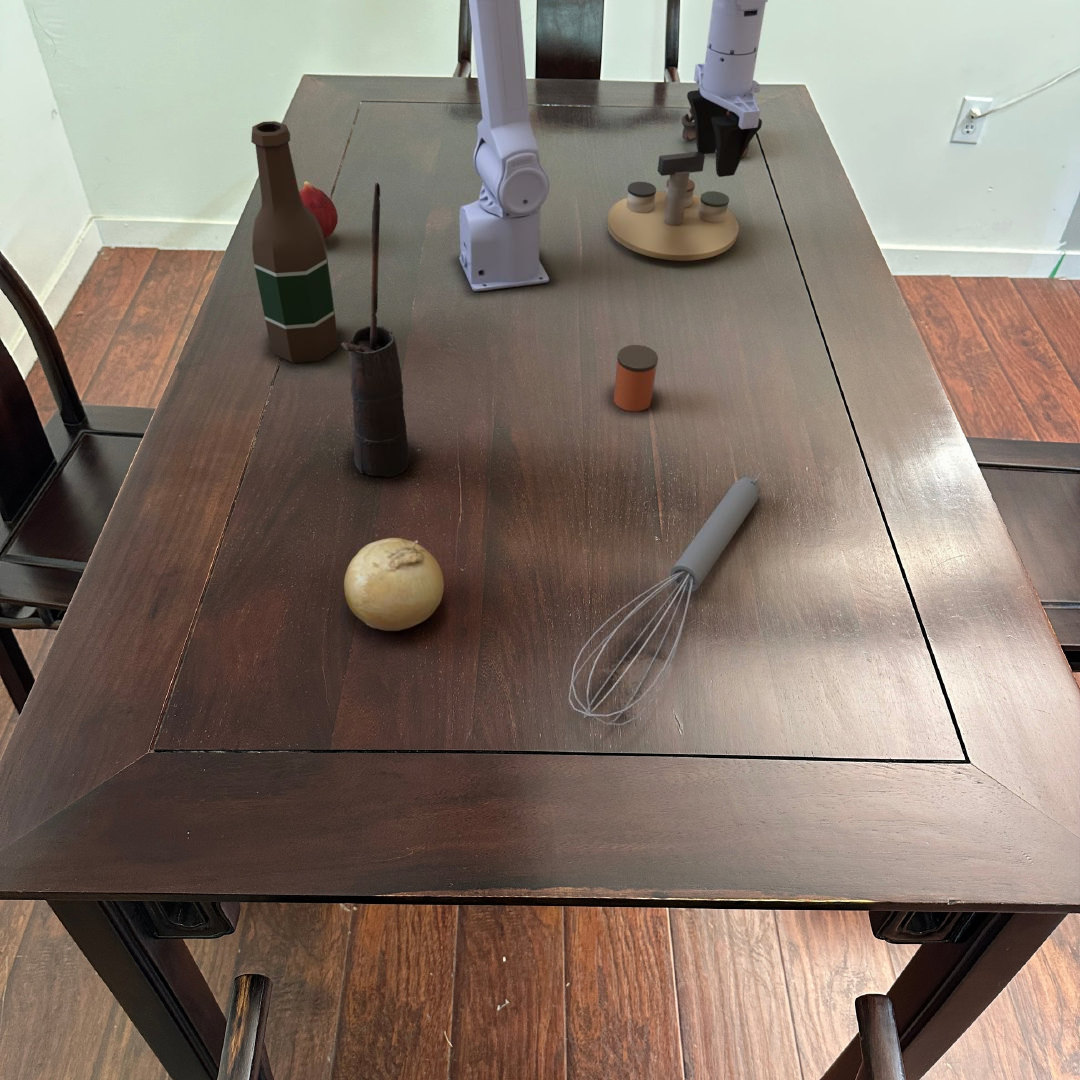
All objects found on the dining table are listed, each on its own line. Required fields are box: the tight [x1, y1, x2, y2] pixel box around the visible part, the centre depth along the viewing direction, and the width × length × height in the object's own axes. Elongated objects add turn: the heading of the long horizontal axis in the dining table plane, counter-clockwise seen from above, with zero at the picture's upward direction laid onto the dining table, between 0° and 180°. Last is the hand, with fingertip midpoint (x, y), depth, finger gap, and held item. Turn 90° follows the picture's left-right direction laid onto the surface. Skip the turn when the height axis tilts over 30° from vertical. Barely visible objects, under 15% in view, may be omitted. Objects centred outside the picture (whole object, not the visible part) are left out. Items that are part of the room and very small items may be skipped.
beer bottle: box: [251, 120, 339, 364], centre depth 98 cm, size 8×8×24 cm
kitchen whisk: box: [568, 472, 761, 728], centre depth 80 cm, size 6×34×6 cm, turn 149°
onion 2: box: [343, 537, 445, 632], centre depth 78 cm, size 8×8×7 cm
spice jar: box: [613, 344, 659, 412], centre depth 100 cm, size 4×4×6 cm
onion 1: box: [299, 180, 339, 240], centre depth 119 cm, size 6×6×8 cm
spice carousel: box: [606, 151, 740, 262], centre depth 122 cm, size 17×17×10 cm
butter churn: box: [340, 182, 410, 478], centre depth 83 cm, size 9×10×28 cm
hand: (715, 163), depth 118 cm, fingers open, 6 cm apart
